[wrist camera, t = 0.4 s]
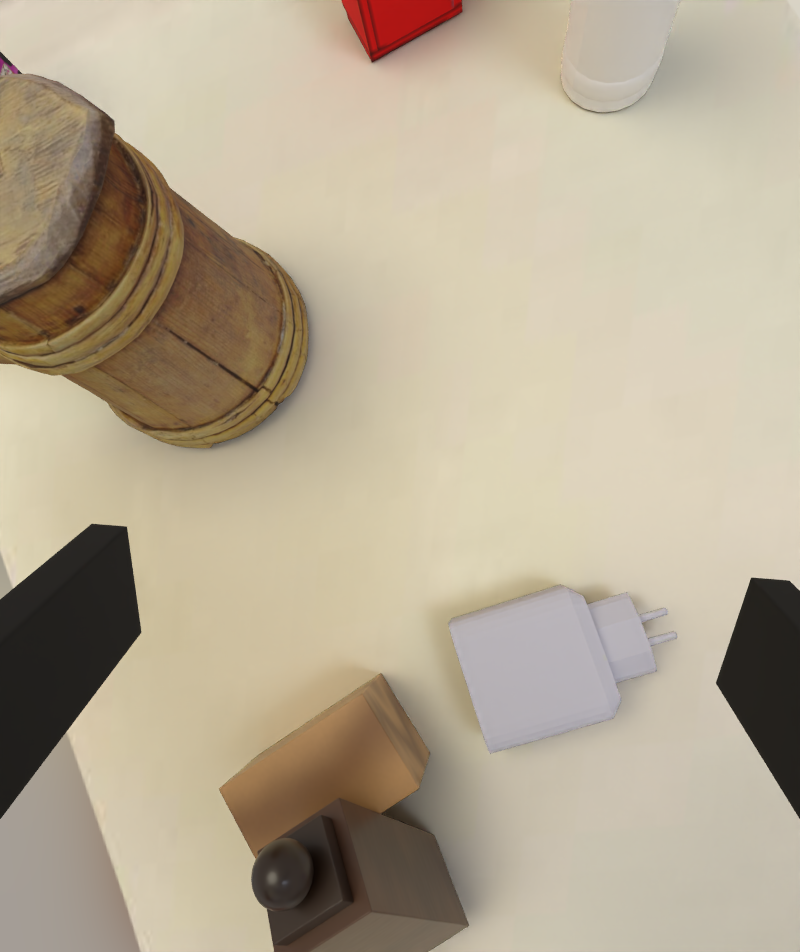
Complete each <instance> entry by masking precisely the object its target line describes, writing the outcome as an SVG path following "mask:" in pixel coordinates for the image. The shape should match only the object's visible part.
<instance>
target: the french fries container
mask: <svg viewBox="0 0 800 952" xmlns="http://www.w3.org/2000/svg"><path fill="white" fill-rule="evenodd" d="M342 3H343V6H344V8H345V10H346V12H347V15H348V19H349V21H350V23H351V24H352V26H353V28H354V30H355V32H356V34H357V35H358V37H359V39H360V41H361V43H362V45H363V46H364V48H365V50H366V52H367V54H368V56H369V57H370V59H371V61H372V62H373V61H375V60H376V59H378V58H380V57H382V56H384V55H385V54H387V53H389V52H391V51H393V50H394V49H396V48H398V47H400V46H401V45H403V44H405V43H407V42H409V41H410V40H412V39H414V38H416V37H418V36H419V35H421V34H423V33H425V32H427V31H428V30H430V29H432V28H434V27H435V26H437V25H439V24H441V23H443V22H444V21H446V20H448V19H450V18H452V17H453V16H455V15H457V14H459V13H461V12H462V0H342Z"/></svg>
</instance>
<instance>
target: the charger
mask: <svg viewBox="0 0 800 952" xmlns="http://www.w3.org/2000/svg"><path fill="white" fill-rule="evenodd" d="M667 614H668V611H667V609H666V608H660V609H657V610H654V611H650V612H647V613H644V614H640V615H638V613H637V611H636V608H635V606H634V604H633V602H632V600H631V598H630V596H629V595H628V593H627V592H626V593H622V594H619V595H616V596H613V597H609V598H606V599H603V600H600V601H596V602H593V603H590V604H587V603H586V601H585V598H584V596H582V595H581V594H579V593H577V592H575V591H573V590H571V589H569V588H567V587H565V586H562V585H558V586H554V587H551V588H548V589H545V590H542V591H538V592H535V593H532V594H529V595H526V596H522V597H519V598H516V599H513V600H510V601H506V602H503V603H500V604H497V605H493V606H490V607H487V608H484V609H481V610H477V611H474V612H471V613H468V614H465V615H461V616H458V617H455V618H452V619H451V620H450V621H449V623H448V625H449V629H450V633H451V636H452V640H453V643H454V646H455V649H456V653H457V656H458V659H459V662H460V665H461V668H462V671H463V674H464V677H465V681H466V684H467V687H468V690H469V693H470V696H471V699H472V702H473V706H474V709H475V712H476V715H477V718H478V721H479V724H480V727H481V730H482V734H483V737H484V740H485V742H486V745H487V748H488V751H489V753H490V754H491V753H494V752H498V751H501V750H505V749H508V748H512V747H515V746H519V745H522V744H526V743H529V742H533V741H536V740H540V739H543V738H547V737H550V736H554V735H557V734H561V733H564V732H568V731H571V730H575V729H578V728H582V727H585V726H589V725H593V724H596V723H600V722H603V721H607V720H610V719H613V718H614V716H615V714H616V711H617V709H618V707H619V705H620V703H621V696H620V693H619V691H618V688H617V685H616V683H618V682H621V681H625V680H628V679H632V678H635V677H638V676H642V675H645V674H649V673H652V672H656V671H657V667H656V663H655V659H654V655H653V651H652V648H651V646H653V645H656V644H659V643H663V642H666V641H670V640H673V639H676V638H677V634H676V632H674V631H672V632H669V633H665V634H662V635H658V636H655V637H652V638H647V635H646V633H645V630H644V627H643V625H642V622H644V621H647V620H651V619H654V618H657V617H661V616H664V615H667Z"/></svg>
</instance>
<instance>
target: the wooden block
mask: <svg viewBox="0 0 800 952" xmlns="http://www.w3.org/2000/svg"><path fill="white" fill-rule="evenodd" d="M429 755H430V752H429V751H428V749H427V747H426V746H425V744H424V742H423V741H422V739H421V737H420V736H419V734H418V733H417V731H416V729H415V728H414V726H413V724H412V723H411V721H410V720H409V718H408V716H407V715H406V713H405V711H404V710H403V708H402V707H401V705H400V703H399V702H398V700H397V698H396V697H395V695H394V693H393V692H392V690H391V689H390V687H389V685H388V684H387V682H386V680H385V679H384V677H383V676H382V674H379V675H378V676H376V677H375V678H373V679H372V680H370V681H369V682H367V683H366V684H364V685H363V686H361V687H360V688H358V689H357V690H355V691H354V692H352V693H351V694H349V695H348V696H346V697H345V698H343V699H342V700H340V701H339V702H337V703H336V704H334V705H333V706H331V707H330V708H328V709H327V710H325V711H324V712H322V713H321V714H319V715H318V716H316V717H315V718H313V719H312V720H310V721H309V722H307V723H306V724H304V725H303V726H301V727H300V728H298V729H297V730H295V731H294V732H292V733H291V734H289V735H288V736H286V737H285V738H283V739H282V740H280V741H279V742H277V743H276V744H274V745H273V746H271V747H270V748H268V749H267V750H265V751H264V752H262V753H261V754H259V755H258V756H257V757H256V758H254V759H253V760H252V761H251V762H250V763H249V764H247V765H246V766H245V767H244V768H243V769H241V770H240V771H239V772H238V773H237V774H236V775H234V776H233V777H232V778H231V779H230V780H229V781H227V782H226V783H225V784H224V785H223V786H222V787H220V788H219V790H220V792H221V794H222V796H223V798H224V800H225V802H226V804H227V805H228V807H229V809H230V811H231V813H232V815H233V817H234V819H235V821H236V823H237V824H238V826H239V828H240V830H241V832H242V834H243V836H244V838H245V840H246V841H247V843H248V845H249V847H250V849H251V851H252V853H253V855H254V857H255V859H256V858H257V856H258V853H257V851H258V850H260V849H261V848H263V847H264V846H266V845H267V844H269V843H270V842H272V841H273V840H275V839H277V838H278V837H280V836H281V835H283V834H284V833H286V832H287V831H289V830H290V829H292V828H293V827H295V826H296V825H298V824H299V823H301V822H302V821H304V820H305V819H307V818H308V817H310V816H311V815H313V814H315V813H316V812H318V811H319V810H321V809H322V808H324V807H325V806H327V805H328V804H330V803H331V802H333V801H334V800H336V799H337V798H342V799H344V800H347V801H349V802H352V803H354V804H357V805H360V806H362V807H365V808H367V809H370V810H372V811H375V812H377V813H380V814H381V813H383V812H384V811H386V810H387V809H389V808H390V807H392V806H393V805H395V804H396V803H398V802H399V801H401V800H402V799H404V798H406V797H407V796H409V795H410V794H412V793H413V792H415V791H416V790H418V789H419V787H420V784H421V781H422V777H423V774H424V771H425V768H426V765H427V761H428V758H429Z"/></svg>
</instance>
